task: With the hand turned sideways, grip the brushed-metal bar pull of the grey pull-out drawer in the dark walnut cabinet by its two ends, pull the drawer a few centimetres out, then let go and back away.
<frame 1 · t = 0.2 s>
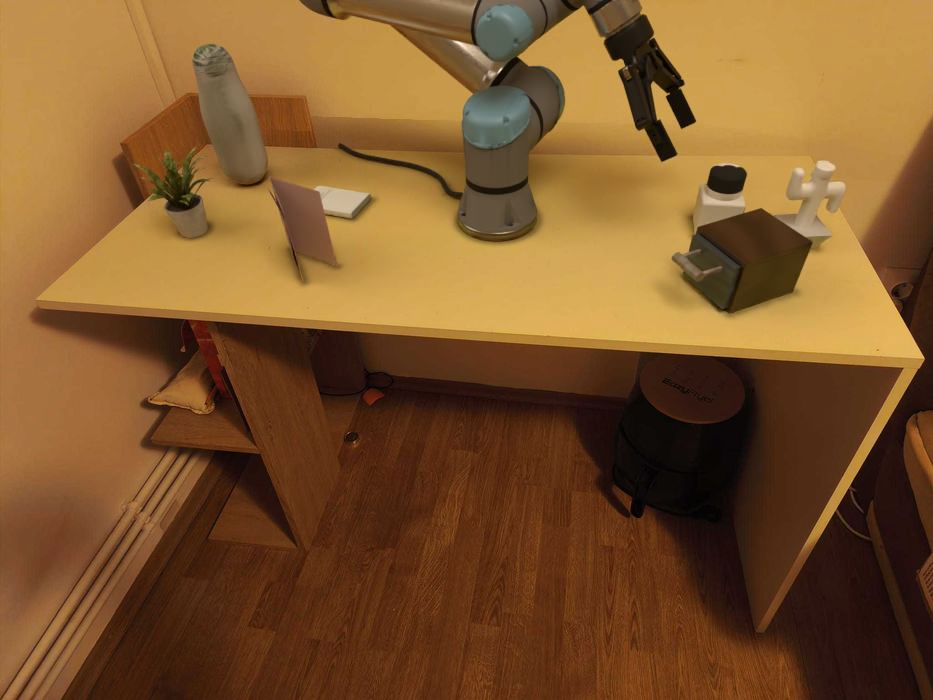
hand: (679, 141, 106), 15 cm above the table, tool tilted 35°, fingers open, 13 cm apart
medicine bottle: (713, 229, 114), on the table
hard drive: (335, 205, 126), on the table
grey bottle: (250, 181, 135), on the table
grey pull-out drawer: (723, 266, 97), point 5 cm above the table, slide at 0.0 cm
house plant: (200, 232, 121), on the table
figurine: (795, 243, 109), on the table
greeting card: (312, 262, 112), on the table
cabinet: (737, 283, 102), on the table
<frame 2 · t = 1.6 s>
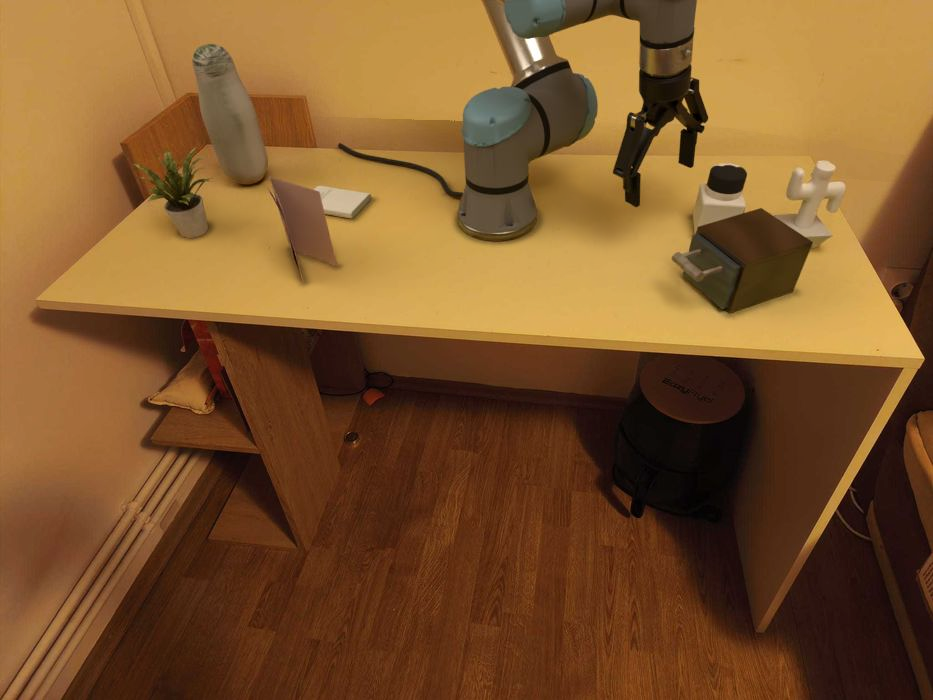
hand: (659, 183, 108), 9 cm above the table, tool pointing down, fingers open, 13 cm apart
nothing on the table moved.
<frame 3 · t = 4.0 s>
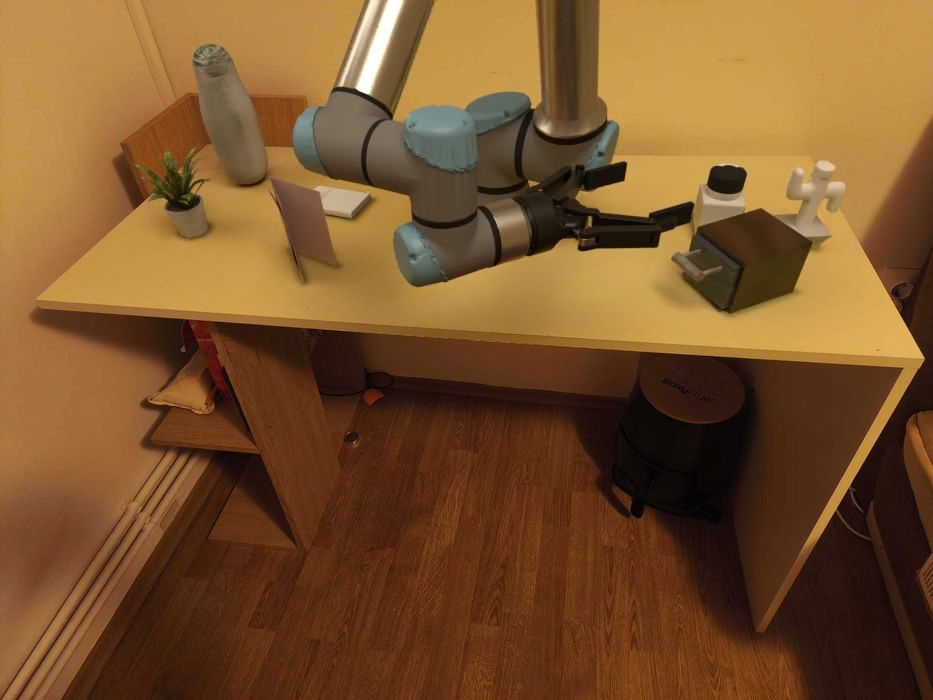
hand: (655, 190, 82), 22 cm above the table, tool horizontal, fingers open, 13 cm apart
nothing on the table moved.
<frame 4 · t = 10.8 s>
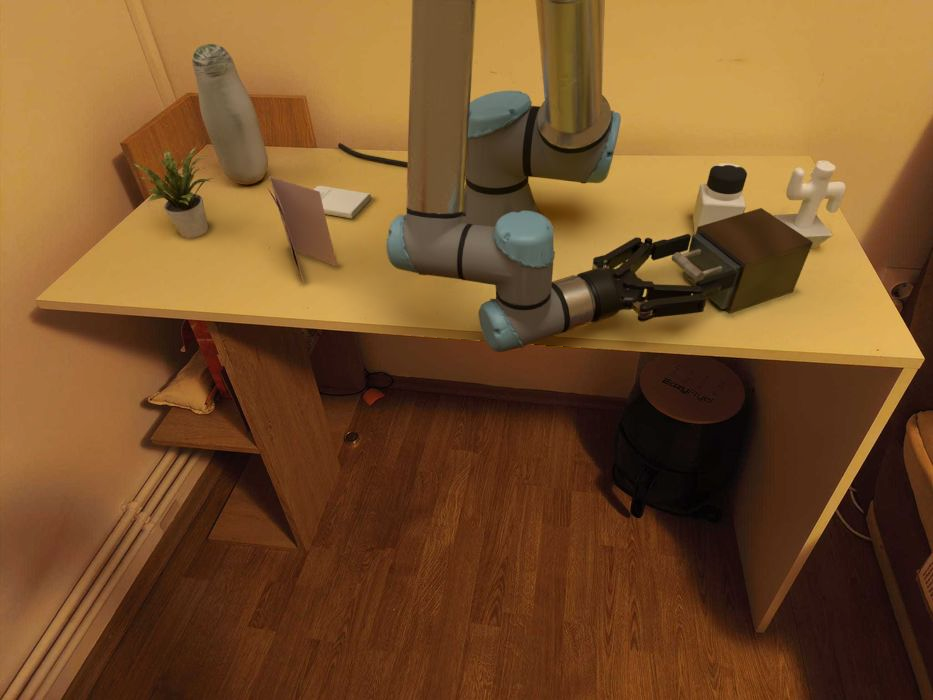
hand: (709, 259, 95), 7 cm above the table, tool horizontal, fingers closed on grey pull-out drawer, 10 cm apart
grey pull-out drawer: (723, 266, 97), point 5 cm above the table, slide at 0.0 cm, touching gripper
everything else where it was.
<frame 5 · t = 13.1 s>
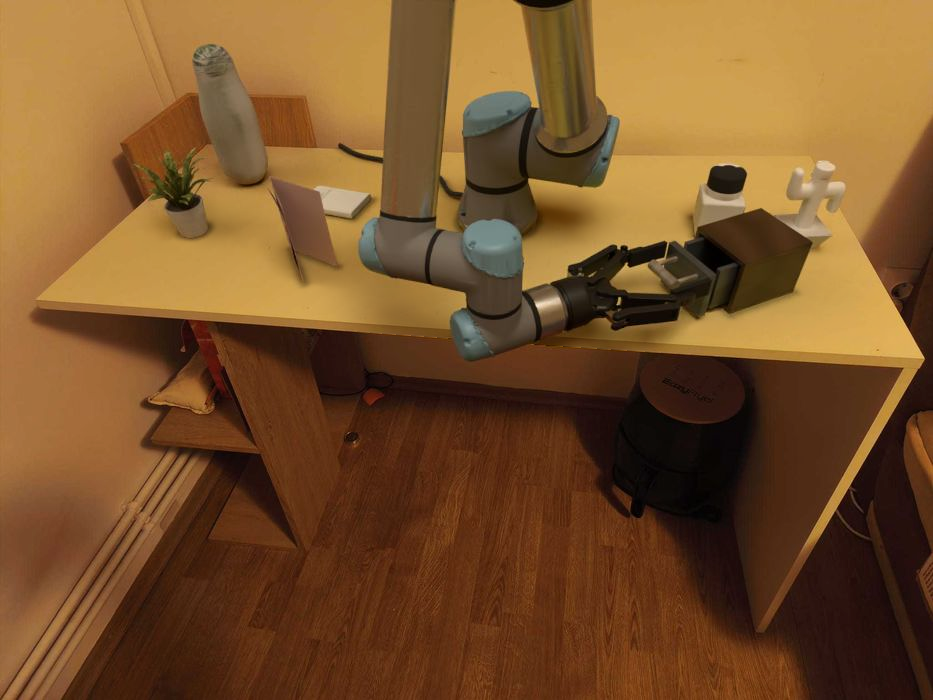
hand: (685, 266, 94), 7 cm above the table, tool horizontal, fingers closed on grey pull-out drawer, 10 cm apart
grey pull-out drawer: (700, 274, 96), point 5 cm above the table, slide at 4.4 cm, touching gripper
everything else where it was.
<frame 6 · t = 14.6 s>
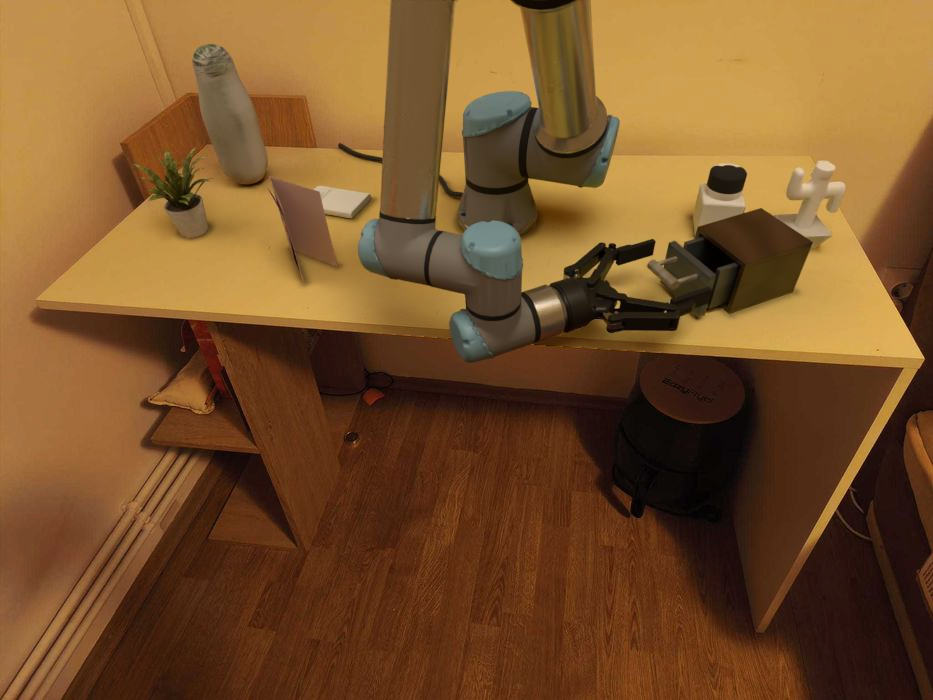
hand: (679, 269, 93), 7 cm above the table, tool horizontal, fingers open, 13 cm apart
grey pull-out drawer: (700, 274, 96), point 5 cm above the table, slide at 4.5 cm
everything else where it was.
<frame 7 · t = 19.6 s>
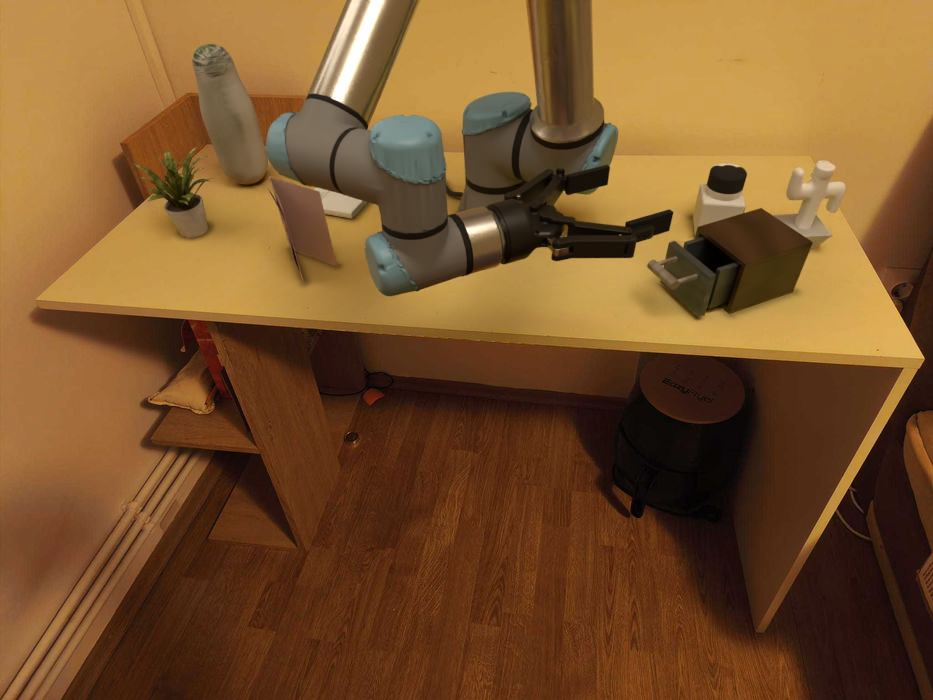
hand: (636, 196, 81), 22 cm above the table, tool horizontal, fingers open, 13 cm apart
nothing on the table moved.
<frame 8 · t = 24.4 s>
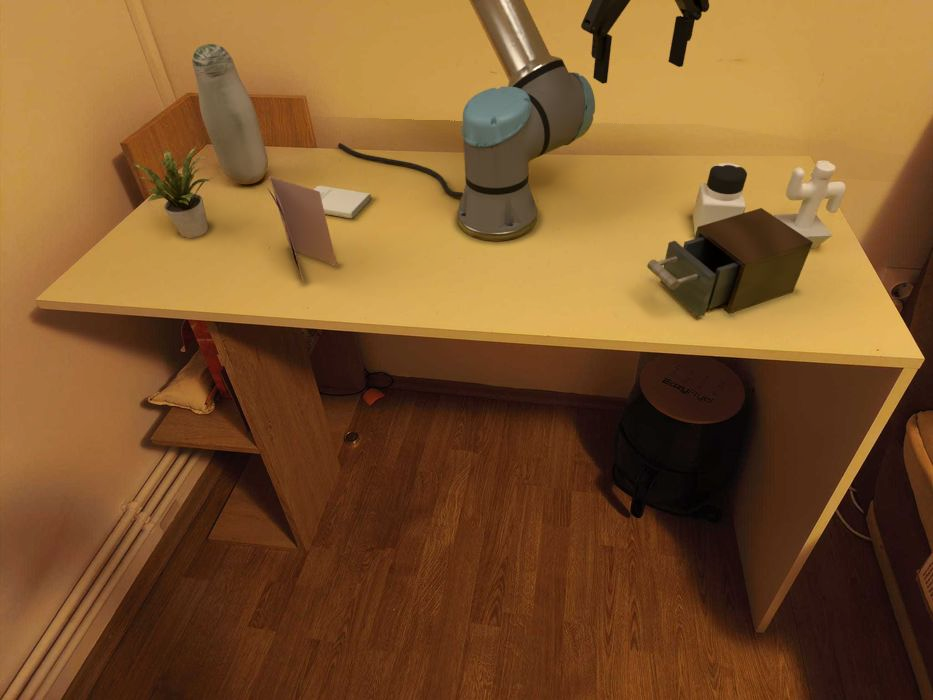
hand: (638, 72, 94), 29 cm above the table, tool pointing down, fingers open, 13 cm apart
nothing on the table moved.
at the end: grey pull-out drawer slide at 4.5 cm; the gripper is holding nothing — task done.
